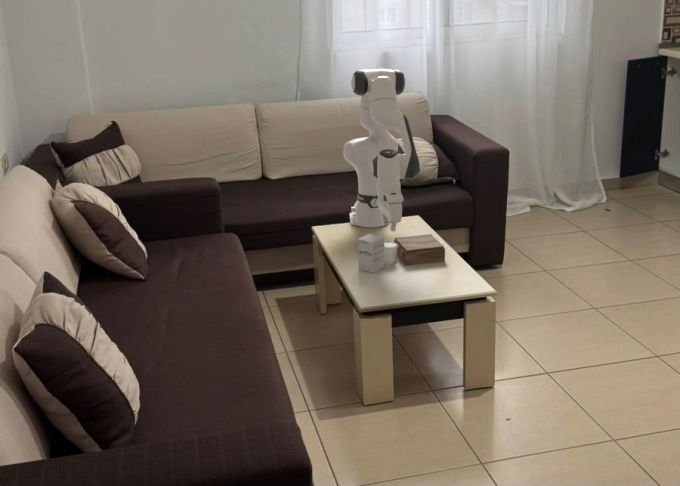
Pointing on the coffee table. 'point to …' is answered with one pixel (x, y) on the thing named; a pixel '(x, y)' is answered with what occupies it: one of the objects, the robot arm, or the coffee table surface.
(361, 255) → the supplement box
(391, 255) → the white cylinder
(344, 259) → the coffee table surface
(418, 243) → the walnut box
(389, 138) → the robot arm
